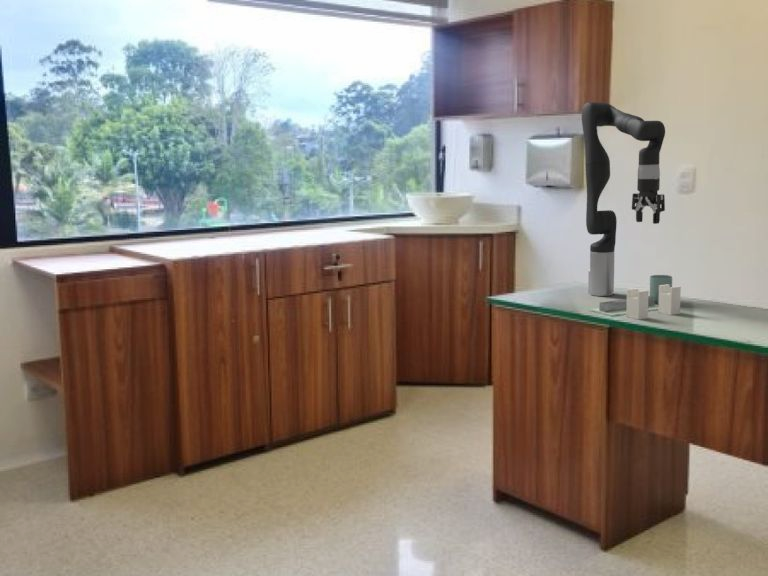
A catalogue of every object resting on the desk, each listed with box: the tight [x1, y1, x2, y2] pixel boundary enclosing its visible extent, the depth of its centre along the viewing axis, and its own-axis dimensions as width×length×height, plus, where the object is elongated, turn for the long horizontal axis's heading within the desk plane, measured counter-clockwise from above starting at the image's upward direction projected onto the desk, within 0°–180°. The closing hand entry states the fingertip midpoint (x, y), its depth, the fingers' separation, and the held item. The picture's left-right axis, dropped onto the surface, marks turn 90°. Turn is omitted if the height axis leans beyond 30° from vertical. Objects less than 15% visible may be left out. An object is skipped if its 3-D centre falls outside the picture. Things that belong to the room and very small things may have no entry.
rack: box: [625, 284, 682, 320], centre depth 264 cm, size 6×18×10 cm, turn 113°
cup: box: [649, 274, 673, 305], centre depth 284 cm, size 8×8×10 cm
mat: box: [588, 304, 658, 317], centre depth 275 cm, size 12×24×1 cm, turn 113°
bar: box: [598, 295, 655, 312], centre depth 275 cm, size 3×22×3 cm, turn 113°
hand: (647, 222), depth 278 cm, fingers open, 8 cm apart
